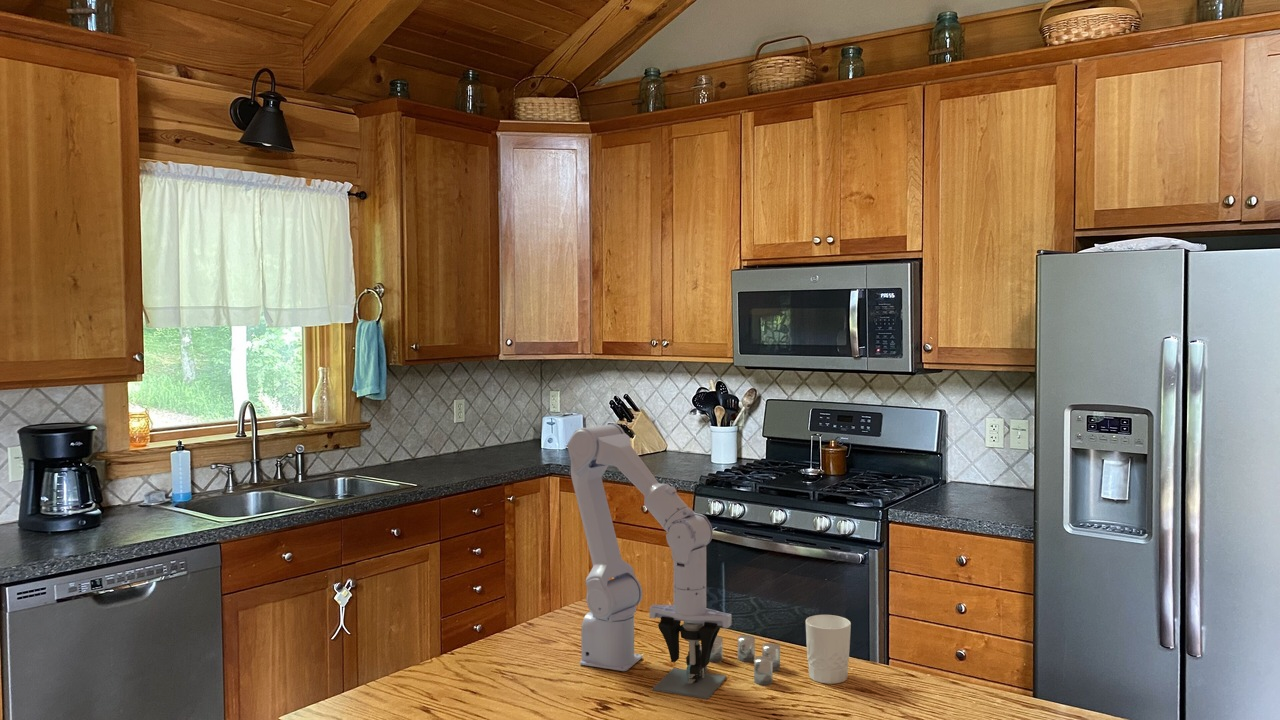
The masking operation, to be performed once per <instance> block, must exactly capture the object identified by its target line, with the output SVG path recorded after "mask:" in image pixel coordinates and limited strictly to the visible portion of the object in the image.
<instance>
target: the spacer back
mask: <svg viewBox="0 0 1280 720" xmlns="http://www.w3.org/2000/svg"><path fill="white" fill-rule="evenodd" d="M755 649H756V637H755V636H754V635H750V634H749V635H747V634H743V635H738V637H737V660H738V661H739V662H743V663H750V662H754V658H755V657H756V655H755V654H756V650H755Z"/></svg>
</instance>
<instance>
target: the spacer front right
mask: <svg viewBox="0 0 1280 720" xmlns="http://www.w3.org/2000/svg"><path fill="white" fill-rule="evenodd" d="M753 671H754V672H753V677H754V678H753V682H754V683H755V684H756V685H759V686H769V685H772V684H773V675H774V674H773V672H774V671H773V659H772V658H770V657H766V656H762V655H760V656H755V658H754V661H753Z"/></svg>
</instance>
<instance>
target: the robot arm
mask: <svg viewBox="0 0 1280 720" xmlns="http://www.w3.org/2000/svg"><path fill="white" fill-rule="evenodd" d="M631 443H632V441H631V437H630V436H629V435H628V434H627V433H625V430H624V429H623V428H622V427H621V426H620V425H619V424H616V423H608V424H605V425H598V426H591V427H579V428H577V429H575V430H574V431H573V432H572V435H571V436H570V439H569V440H568V442H567V444H566V446H567V451H568V454H569V458H570V476H571V477H570V478H571V480H572V486H573V490H574V494H575V498H576V503H577V506H578V510H579V513H580V518H581V522H582V526H583V530H584V535H585V539H586V543H587V547H588V551H589V556H590V559H591V564H592V568H591V570H590V571H589V573H588V575H587V576H586V578H585V585H586V604H587V608H588V610H589V612H587V613H586V614H585V615H584V617H583V620H582V624H581V634H580V636H581V637H580V641H581V643H580V644H581V646H580V648H581V654H580V655H581V660H580V661H579V665H581V666H588V667H593V668H600V669H607V670H613V671H621V672H627V671H629V670H630V669H631V667H633V666H634V665H636V663H637V662H639V661H640V660H641V659H642V658H643V654H640V653H639V654H638V653H635V613H637V606H638V605H639V604H640V603H641V601H642V598H643V588H642V585H641V583H640V581H639V580H638V578H637V576H636V575H635V573H634V572H635V571H634V568H633V566H632V565H631V564H629V563H628V562H627V561H625V560H623V557H622V555H621V551H620V546H619V543H618V539H617V535H616V531H615V526H614V523H613V519H612V515H611V511H610V506H609V503H608V499H607V495H606V490H605V487H604V483H603V478H602V477H603V476H604V474H605V472H606V471H607V468H609V466H610V467H611V466H612V467H616V468H617V469H618V470H619V471H620V472H621V474H623V475H624V476H625V477H626V479H627V480H629V482H631V484H633V486H635V488H636V489H637V490H638V491H640V493H641V494H642V495H643V499H644V500H643V505H644V508H646V509H647V511H648V512H649V513H650V514H651V515H652V517H654V520H656V521H657V522H658V523H659V525H660V526H661V527H662V528H663V530H664V531H665V532H666V533H665V538H666V542H667V545H668V546H669V549H670V551H671V558H672V560H673V561H672V562H673V604H652V605H651V606H649V619H654V620H655V619H656V618H658V619H660V620H659V622H658V624H657V626H658V630H659V631H660V633H661V634H662V637H663V639H664V641H665V643H666V646H667V649H668V652H669V657H670V661H671V663H676V662H678V660H679V659H680V631H679V626H680V625H681V622H684V621H687V622H695V623H702V624H704V626H702V627H701V628H700V629H699V633H700V639H701V641H700V645H701V665H702V667H706V666H707V667H708V665H709V664H710V662H709V660H710V655H711V651H712V647H713V644H714V641H715V639H716V636H718V634H719V632H720V630H721V628H725V629H729V628H730V627H731V626H732V613H727V612H722V611H719V610H715V609H711V608H707V546H708V544H710V542H711V541H712V539H713V536H714V535H713V534H714V533H713V532H714V531H713V527H712V523H711V522H710V520H709V519H708V517H707V516H706V515H704V514H702V513H697V512H695V511H694V510H693V509H692V508H691V507H689V506H688V504H686V503H685V501H684V500H683V499H682V498H681V497H680V496H679V494H677V489H676V488H675V487H674V486H671V485H670V484H668V483H660V482H659V481H658V480H657V478H656V477H655V476H654V475H653V473H652V472H651V471H650V469H649V468H648V466H647V465H646V464H645V462H644V461H643V460H642V458H641V457H640V456H639V454H638V453H637V451H636V450H635V449H634V448H633V446H632V444H631Z"/></svg>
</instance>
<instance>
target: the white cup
mask: <svg viewBox="0 0 1280 720" xmlns="http://www.w3.org/2000/svg"><path fill="white" fill-rule="evenodd" d="M851 626H852V623H851V621H850V620H849V619H848V618H846V617H844V616H839V615H835V614H833V615H832V614H815V615H812V616H809V617H808V616H807V617H806V619H805V640H806V644H805V645H806V656H807V657H806V658H807V662H808V663H807V664H808V665H807V666H808V676H809V678H810V679H811V680H813V681H815V682H817V683H821V684H826V685H827V684H828V685H830V684H831V685H832V684H833V685H835V684H840V683H844V682H845V681H847V679H848V675H849V674H848V671H849V670H848V669H849V663H850V662H849V660H850V647H851V646H850V645H851V629H852V628H851Z"/></svg>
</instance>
